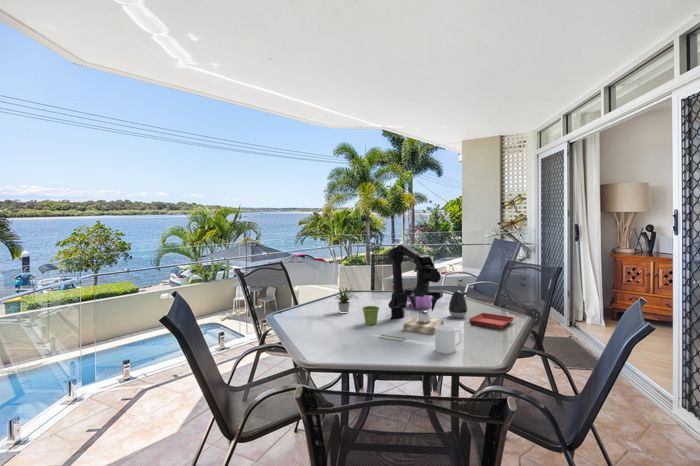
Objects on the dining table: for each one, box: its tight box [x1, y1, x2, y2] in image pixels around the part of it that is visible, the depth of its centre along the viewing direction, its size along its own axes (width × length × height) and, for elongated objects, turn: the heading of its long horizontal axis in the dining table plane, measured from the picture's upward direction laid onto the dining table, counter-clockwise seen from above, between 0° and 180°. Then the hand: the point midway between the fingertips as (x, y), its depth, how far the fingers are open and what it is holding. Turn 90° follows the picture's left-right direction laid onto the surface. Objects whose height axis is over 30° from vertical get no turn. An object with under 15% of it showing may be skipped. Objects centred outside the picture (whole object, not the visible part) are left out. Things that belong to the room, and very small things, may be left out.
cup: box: [434, 324, 463, 355], centre depth 162 cm, size 8×12×10 cm
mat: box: [378, 334, 407, 342], centre depth 182 cm, size 12×12×1 cm
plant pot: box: [362, 305, 380, 326], centre depth 204 cm, size 9×9×9 cm
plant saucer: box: [468, 312, 515, 330], centre depth 200 cm, size 18×18×3 cm
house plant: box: [333, 286, 355, 313], centre depth 229 cm, size 14×14×16 cm
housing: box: [402, 315, 445, 335], centre depth 192 cm, size 16×16×4 cm
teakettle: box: [407, 295, 433, 310], centre depth 242 cm, size 17×17×12 cm
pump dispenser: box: [448, 290, 468, 319], centre depth 215 cm, size 10×10×15 cm
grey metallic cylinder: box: [418, 309, 430, 324], centre depth 192 cm, size 5×5×8 cm
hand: (423, 309), depth 192 cm, fingers open, 9 cm apart
